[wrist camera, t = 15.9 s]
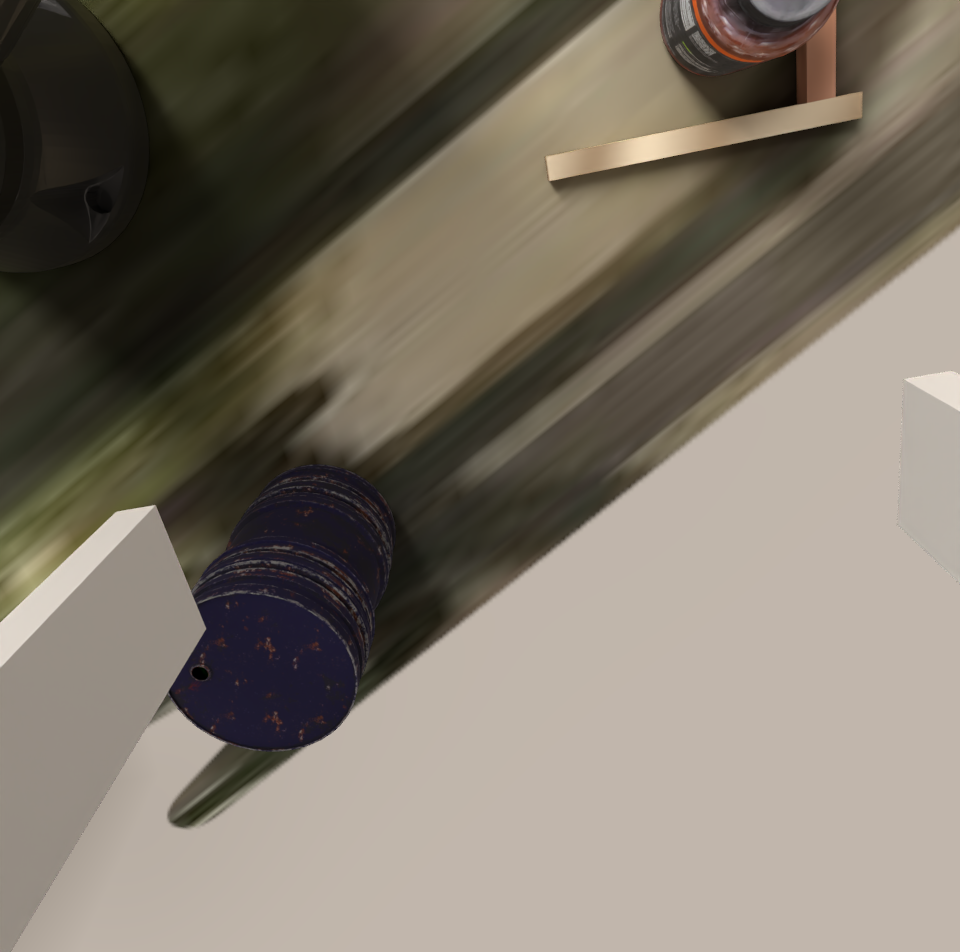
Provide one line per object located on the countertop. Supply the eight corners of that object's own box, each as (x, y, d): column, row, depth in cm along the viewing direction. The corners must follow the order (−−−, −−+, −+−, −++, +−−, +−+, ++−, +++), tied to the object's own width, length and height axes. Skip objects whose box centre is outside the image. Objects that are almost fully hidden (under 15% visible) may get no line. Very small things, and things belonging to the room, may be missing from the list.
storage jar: (397, 466, 47) (357, 595, 34) (399, 595, 51) (363, 757, 38) (243, 459, 47) (141, 585, 34) (256, 589, 51) (170, 748, 38)
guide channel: (547, 179, 40) (549, 181, 39) (509, -94, 35) (509, -103, 34) (849, 118, 39) (861, 117, 37) (853, -177, 34) (867, -190, 33)
